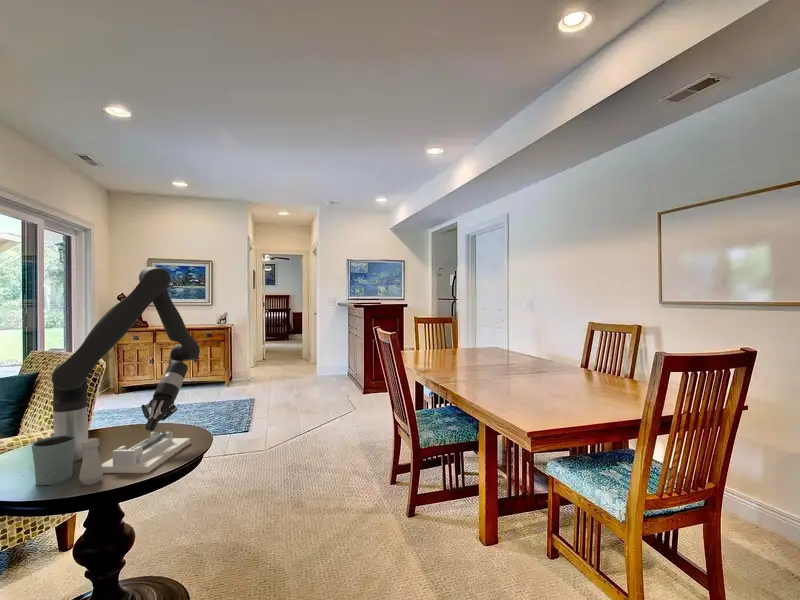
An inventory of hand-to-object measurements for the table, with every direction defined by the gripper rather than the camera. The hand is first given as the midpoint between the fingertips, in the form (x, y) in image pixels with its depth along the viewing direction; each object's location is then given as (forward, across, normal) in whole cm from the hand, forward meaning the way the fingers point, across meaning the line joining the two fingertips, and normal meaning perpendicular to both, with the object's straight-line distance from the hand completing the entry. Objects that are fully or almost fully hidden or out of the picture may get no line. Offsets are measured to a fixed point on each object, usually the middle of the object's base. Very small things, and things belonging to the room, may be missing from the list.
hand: (148, 430), depth 144 cm
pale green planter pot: (+19, -18, -6) cm, 27 cm away
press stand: (+7, 0, +6) cm, 9 cm away
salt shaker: (+21, -5, -8) cm, 22 cm away
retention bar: (+4, 0, +2) cm, 5 cm away
